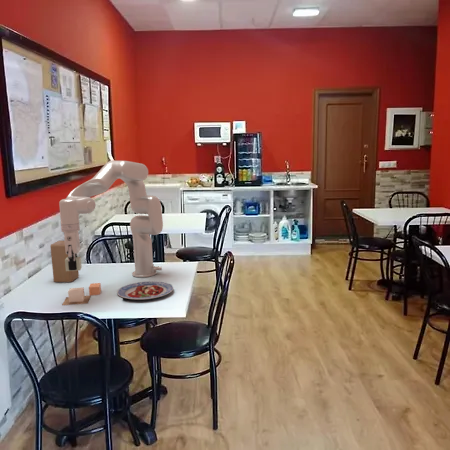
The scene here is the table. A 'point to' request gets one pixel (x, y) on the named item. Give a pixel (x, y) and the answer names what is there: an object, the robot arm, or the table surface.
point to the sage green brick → (78, 264)
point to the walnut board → (66, 302)
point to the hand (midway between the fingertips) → (73, 268)
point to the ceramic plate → (145, 290)
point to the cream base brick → (76, 294)
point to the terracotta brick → (95, 289)
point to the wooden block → (61, 263)
